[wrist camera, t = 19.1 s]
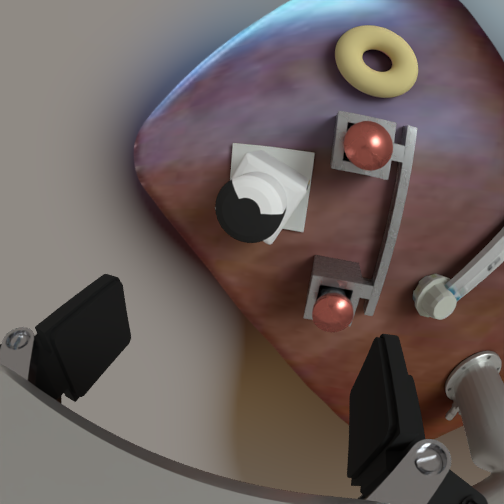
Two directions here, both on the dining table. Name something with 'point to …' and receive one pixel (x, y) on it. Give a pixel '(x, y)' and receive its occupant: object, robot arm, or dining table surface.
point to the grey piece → (457, 281)
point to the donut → (371, 80)
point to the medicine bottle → (259, 198)
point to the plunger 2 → (368, 145)
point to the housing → (349, 272)
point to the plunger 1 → (332, 309)
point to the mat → (291, 158)
